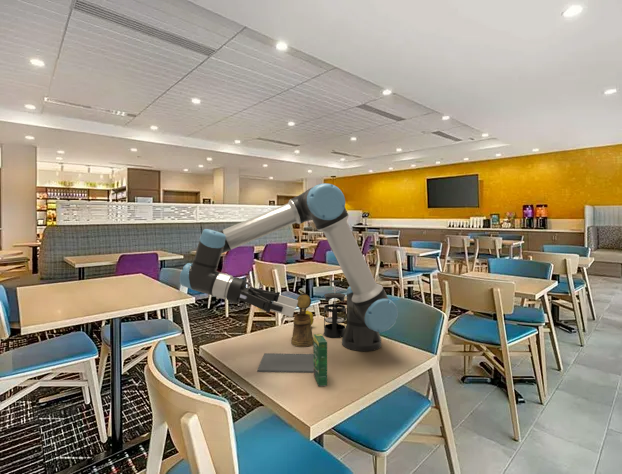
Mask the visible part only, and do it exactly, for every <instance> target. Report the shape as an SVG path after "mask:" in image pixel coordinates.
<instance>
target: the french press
mask: <svg viewBox="0 0 622 474" xmlns="http://www.w3.org/2000/svg"><path fill="white" fill-rule="evenodd" d="M329 282H330V283H333V286H334V287H333V289H334V290H333V291H334V292H329V293H325V294H324V295H323V296H324V299H325V300H324V301H326V302H329V301H330V300H332V299H333V300H334V302H333V303H329V304H325V305H324V306H323V308H324V309H323V337H327V338H330V339H340V338H341V339H342V337H343V334H344V331H345V328H346V325H345V324H343V323H345V321H346V318H345V317H340V316H338V313H343V312H346V305H344V304H341V303H340V304H339V303H336V300H338V301H340V302H345V298H346V297H347V296H346V294H344V293H341V292H336V286H337V283H341V281H340V280H336V279H333V280H329ZM326 312H328V313H331V316H328V317H326ZM326 323H327V324H326Z"/></svg>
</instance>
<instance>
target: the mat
mask: <svg viewBox="0 0 622 474" xmlns="http://www.w3.org/2000/svg"><path fill="white" fill-rule="evenodd" d="M256 372H257V373H298V374H299V373H303V374H305V373H308V374H309V373H311V374H314V353H281V352H280V353H276V352H274V353H272V352H270V353H269V352H264V353H263V356H262V358H261V361H260V363H259V365H258V367H257V371H256Z"/></svg>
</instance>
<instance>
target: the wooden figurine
mask: <svg viewBox="0 0 622 474" xmlns="http://www.w3.org/2000/svg"><path fill="white" fill-rule="evenodd" d="M296 300H298V303H297V307H296V308H298V309H299V313H296V314H294V317H293V321H292V322H293V328H292V329H293V330H292V335H291V344H292V346H295V347H299V348H300V347H302V348H304V347H305V348H306V347H309V346H313V330H312V325H311V318H310V315H309V314H306V311H307V310H308V309H309V307H310V306H311V305H312V298H311V297H310V295H308V294H307V293H304V292H303V293H301V294H300V295H299V296H298V297H296Z"/></svg>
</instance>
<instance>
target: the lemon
mask: <svg viewBox="0 0 622 474" xmlns="http://www.w3.org/2000/svg"><path fill="white" fill-rule="evenodd" d="M306 314H309V315H310V318H311V326H312V325H313V323H314V315H313V312H311V311H309V310H308V309H306Z"/></svg>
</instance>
